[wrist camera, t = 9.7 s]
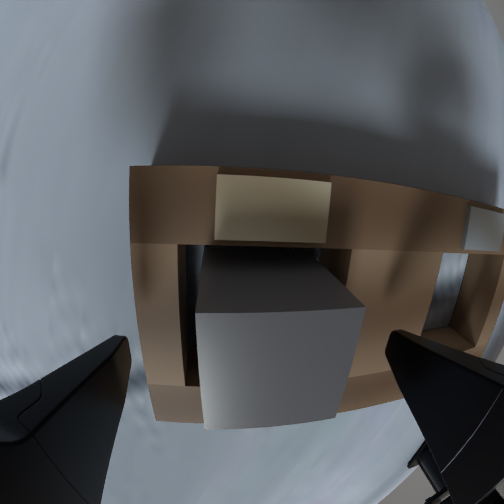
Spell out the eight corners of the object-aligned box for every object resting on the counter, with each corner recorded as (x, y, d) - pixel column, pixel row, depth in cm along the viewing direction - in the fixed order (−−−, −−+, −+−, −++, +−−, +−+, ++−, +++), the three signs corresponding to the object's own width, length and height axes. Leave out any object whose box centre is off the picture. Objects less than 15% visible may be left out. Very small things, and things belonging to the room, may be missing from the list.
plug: (294, 331, 14) (334, 417, 8) (206, 334, 14) (204, 429, 8) (303, 247, 13) (365, 306, 7) (204, 246, 12) (195, 313, 7)
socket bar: (450, 352, 17) (476, 375, 13) (163, 381, 14) (155, 425, 11) (489, 205, 14) (526, 215, 10) (150, 166, 11) (126, 165, 8)
